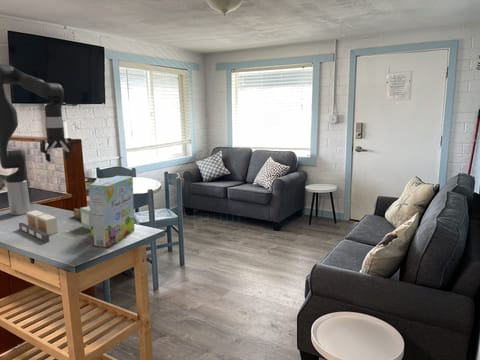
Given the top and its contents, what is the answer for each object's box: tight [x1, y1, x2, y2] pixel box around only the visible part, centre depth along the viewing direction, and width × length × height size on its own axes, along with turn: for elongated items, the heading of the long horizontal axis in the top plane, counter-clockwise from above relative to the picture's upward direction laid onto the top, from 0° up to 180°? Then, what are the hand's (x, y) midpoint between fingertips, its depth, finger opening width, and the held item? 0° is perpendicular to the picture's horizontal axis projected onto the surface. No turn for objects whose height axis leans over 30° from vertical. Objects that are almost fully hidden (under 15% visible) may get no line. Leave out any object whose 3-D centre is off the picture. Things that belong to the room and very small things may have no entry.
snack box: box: [88, 175, 135, 248], centre depth 153 cm, size 22×9×26 cm, turn 168°
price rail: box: [18, 222, 50, 243], centre depth 158 cm, size 26×2×3 cm, turn 53°
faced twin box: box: [26, 210, 46, 230], centre depth 169 cm, size 5×9×7 cm, turn 53°
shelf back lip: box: [73, 208, 81, 219], centre depth 179 cm, size 26×1×4 cm, turn 53°
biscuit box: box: [37, 213, 59, 236], centre depth 163 cm, size 5×9×7 cm, turn 52°
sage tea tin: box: [79, 205, 91, 231], centre depth 170 cm, size 8×5×9 cm, turn 53°
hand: (58, 160), depth 174 cm, fingers open, 8 cm apart
